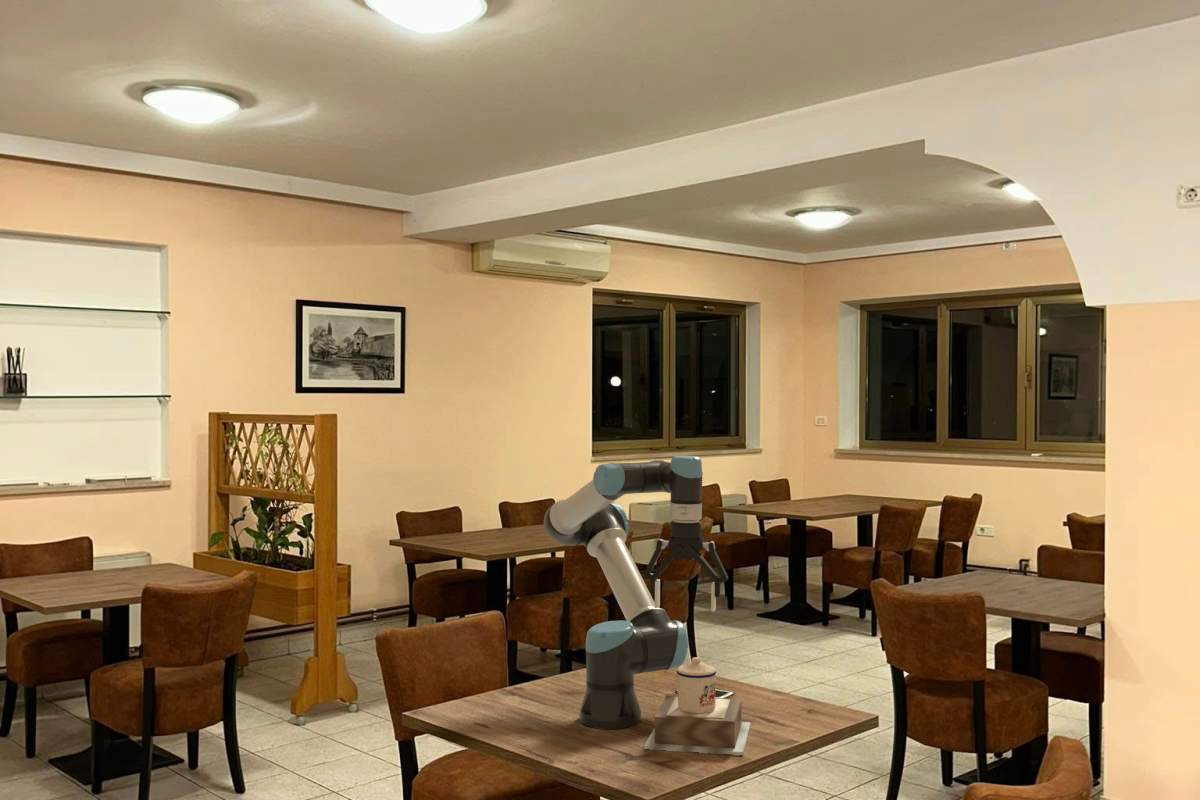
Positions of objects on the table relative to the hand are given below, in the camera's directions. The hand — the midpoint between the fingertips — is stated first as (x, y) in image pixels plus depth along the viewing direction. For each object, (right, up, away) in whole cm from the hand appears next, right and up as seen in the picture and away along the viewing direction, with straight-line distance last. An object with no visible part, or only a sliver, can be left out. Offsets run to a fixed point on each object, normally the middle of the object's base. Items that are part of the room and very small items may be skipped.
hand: (685, 608), depth 252 cm
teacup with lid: (+3, -21, -8) cm, 23 cm away
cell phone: (+8, -29, +28) cm, 41 cm away
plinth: (+3, -28, -8) cm, 29 cm away
